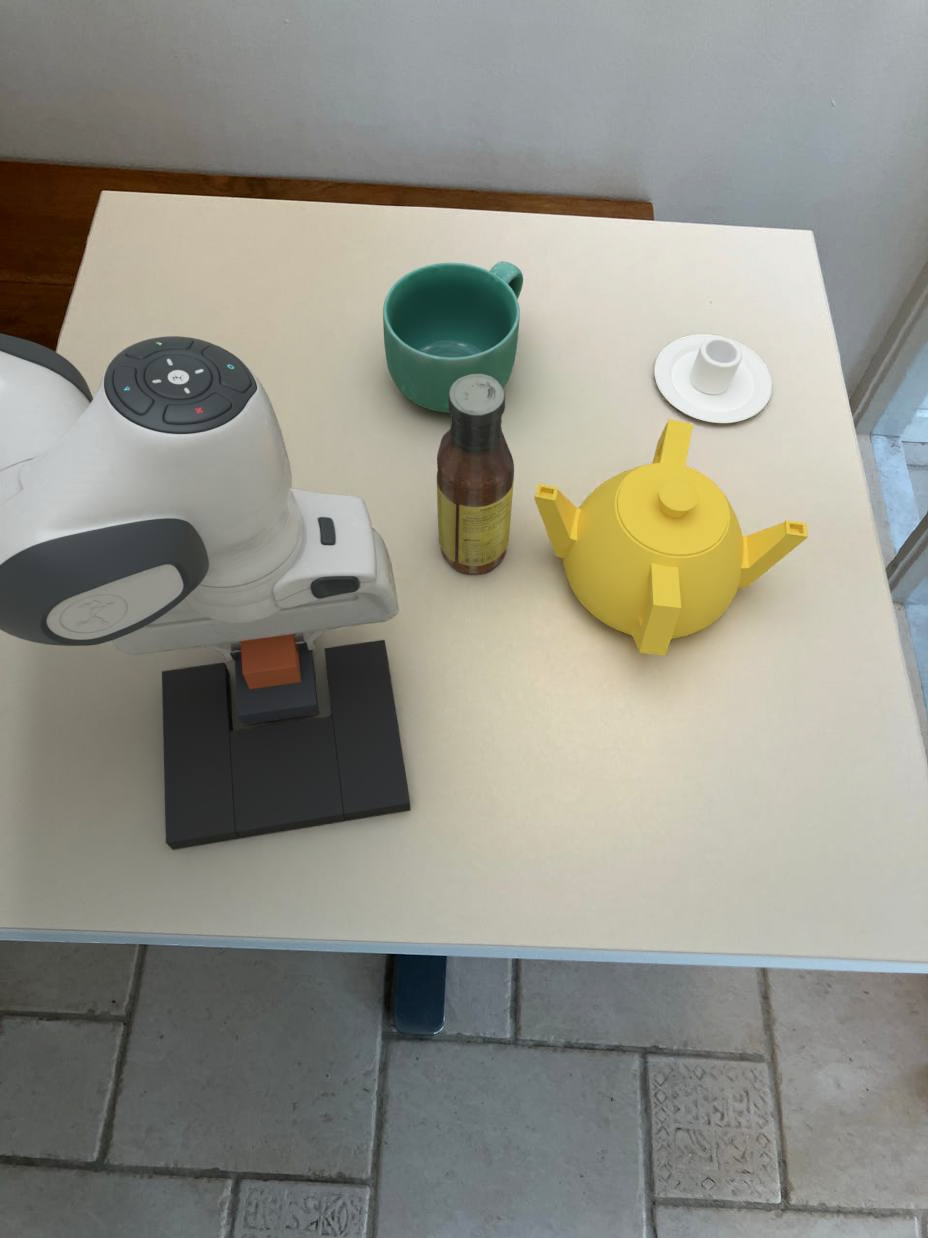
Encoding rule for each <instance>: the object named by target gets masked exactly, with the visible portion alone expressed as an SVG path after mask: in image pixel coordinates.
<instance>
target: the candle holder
mask: <svg viewBox="0 0 928 1238" xmlns="http://www.w3.org/2000/svg"><path fill="white" fill-rule="evenodd" d="M653 372H654V374H653V375H654V380H655V383H656V385H657V388H658V390H659V391H660V393H661V394H662V396H663V398H665V400H666V401H667V402H669V404H671V406H673V407H674V408H675V409H677V410H679V411H680V412H681V413H683V414H685V415H687V416H688V417H691V418H694V419H697V420H700V421H703V422H708V423H714V424H715V423H716V424H731V423H732V424H733V423H739V422H741V421H745V420H747V419H750V418H752V417H754V416H756V415H757V414H758V413H760V412H761V411H762V410H763V409H764V408H765V407H766V406H767V404H768V402H769V401H770V398H771V396H772V391H773V380H772V375H771V372H770V369H769V366H768V365H767V364H766V362H764V360H763V359H762V357H760V356H759V354H758V353H757V352H756V351H754V350H753V349H751V348H750V347H748V346H746V345H745V344H743V343H741V342H739V341H737V340H734V339H732V338H729V337H726V336H723V335H718V334H711V333H710V334H709V333H696V334H690V335H686V336H682V337H679V338H677V339H675V340H673V341H671V342H670V343H668V344H667V345H666V346H665V347H663V348H662V350H661V351H660V352H659V354H658V355H657V357H656V360H655V362H654V370H653Z"/></svg>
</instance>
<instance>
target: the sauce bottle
mask: <svg viewBox="0 0 928 1238" xmlns="http://www.w3.org/2000/svg"><path fill="white" fill-rule="evenodd" d="M448 405H449V410H450V414H451V415H450V416H451V419H450V420H451V422H450V429H448V430H447V431H446V432H445V433H444V434H443V436H442V438H441V439H440V444H439V447H438V450H437V455H436V465H437V466H436V467H437V470H436V504H437V529H438V543H439V546H440V551H441V555H442V556H443V558H444V560H445V561H446V562H447V563H448V564H449V565H450V566H451V567H453V568H454V569H455V570H456V571H458V572H461V573H464V574H471V575H472V574H483V573H487V572H490V571H491V570H494V569H495V568H496V567H497V566H498V565H499V564H500V563H501V562H502V560H504V558H505V555H506V553H507V547H508V545H509V542H510V531H511V518H512V506H513V493H514V482H515V481H514V480H515V463H514V458H513V455H512V452H511V451H510V448H509V446H508V442H507V441H506V438H505V435H504V432H503V429H502V422H503V421H502V417H503V414H504V413H505V409H506V393H505V390H504V387H503V388H502V386H501V385H500V383H499V382H498V381H497V380H495V379H494V378H493V377H491V376H488V375H484V374H470V375H467V376H463V377H461V378H459V379H458V380H456V381H455V382H454V383H453V384H452V386H451V388H450V391H449V399H448Z"/></svg>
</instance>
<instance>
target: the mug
mask: <svg viewBox="0 0 928 1238" xmlns="http://www.w3.org/2000/svg"><path fill="white" fill-rule="evenodd" d="M523 284H524V275H523V271H522V270H520V268H519V267H518V266H516V265H515V264H513V263H511V262H509V261H504V260H503V261H498V262H496V263H494V265H493V266H492V267H491V269H489V270H487V269H486V268H483V267H481V266H477V265H473V264H469V263H462V262H439V263H433V264H428V265H425V266H421V267H419V268H416V269H414V270H411V271H409V272H407V273H406V274H405V275H403V276H402V277H401V278H398V280H397V281H396V282H395V283H394V284H393V285H392V286H391V287H390V289H389V290H388V292H387V294H386V296H385V299H384V302H383V308H382V323H383V342H384V352H385V359H386V365H387V369H388V371H389V372H388V373H389V374H390V375H389V376H390V377H391V379H392V381H393V383H394V384H395V386H396V387H397V389H398V390H399V391H400V392H401V393H402V394H403V395H404V396H405V397H406V398H407V399H408V400H410V401H411V402H413V403H414V404H416V405H418V406H420V407H422V408H425V409H427V410H431V411H435V412H439V413H450V410H449V405H448V399H449V391H450V388H451V386H452V384H453V383H454V382H455V381H456V380H458V379H459V378H461V377H463V376H467V375H470V374H484V375H488V376H491V377H493V378H494V379H495V380H497V381H498V382H499V383H500V385H501V386H502V388H503V389H504V387H505V386H506V385H507V383H508V381H509V379H510V377H511V375H512V372H513V369H514V366H515V365H514V364H515V360H516V355H517V349H518V340H519V330H520V320H521V319H520V318H521V316H520V315H521V310H520V303H519V297H520V294H521V292H522V289H523ZM450 414H451V413H450Z"/></svg>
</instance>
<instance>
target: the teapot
mask: <svg viewBox="0 0 928 1238" xmlns="http://www.w3.org/2000/svg"><path fill="white" fill-rule="evenodd" d="M693 427H694V424H693V423H690V422H685V421H680V420H676V419H672V418H668V420H667V422H666V424H665V426H664V428H663V430H662V431H661V433H660V434H661V435H660V436H659V438H658V440H657V442H656V443H657V444H656V448H655V450H654V451H655V452H654V455H653V459H652V463H647V464H643V465H639V466H637V467H633V468H630V469H628V470H625V471H622V472H620V473H618V474H616V475H614V476H612V477H610V478H608V479H607V480H606V481H604V482H602V483H601V484H600V485H599V486H597V487H596V488H595V489H594V490H593V491H592V492H590V493H589V495H587V497H586V498H585V499H584V501H583V502H582V503H581V504H580V505H579V507H577V506H576V505H575V504H574V503H572V501H571V500H570V499H569V498H568V497H566V495H564V494H563V492H561V490H559V487H557V486H552V485H547V484H542V483H537V485H536V489H535V493H534V502H535V504H536V508H537V509H538V512H539V515H540V517H541V520H542V523H543V525H544V529H545V530H546V533H547V537H548V539H549V541H550V545H551V547H552V549H553V552H554V555H555V557H558V558H560V559H562V564H563V569H564V573H565V577H566V579H567V581H568V584H569V586H570V588H571V590H572V592H573V593H574V595H575V597H576V598H577V600H578V601H579V602H580V603H581V605H582V606H583V607H584V608H585V609H586V610H587V611H588V612H589V613H590V614H591V615H593V616H594V617H595V618H596V619H597V620H599V621H600V622H602V623H603V624H605V625H606V626H608V627H610V628H612V629H613V630H616V631H618V632H621V633H624V634H625V635H629V636H632V638H633V640H634V643H635V646H636V648H637V650H638V653H639V654H647V655H648V654H649V655H655V656H656V655H657V656H667V653H668V650H669V646H670V643H671V640H673V639H679V638H684V637H687V636H690V635H693V634H695V633H698V632H700V631H703V630H704V629H706V628H708V627H709V626H711V625H713V624H714V623H715V622H716V621H718V620H719V619H720V618H721V617H722V616H723V615H724V614H725V613H726V611H727V610H728V608H729V607H730V605H731V604H732V602H733V600H734V599H735V596H736V595H737V592H738V590H739V589H747V588H748V587H749V586H750V585H752V584H754V582H756V581H757V580H758V579H759V578H761V577H762V576H763V575H764V574H765V573H767V572H768V571H769V570H770V569H771V568H773V567H774V566H775V565H776V564H777V563H780V561H781V560H783V558H785V557H786V556H788V555H789V554H790V553H791V552H792V551H793V550H794V549H796V548H797V547H798V546H799V545H800V544H802V543H803V542H804V541H805V540H807V538H808V536H809V535H808V525H807V522H803V521H794V520H788V519H785V520H784V521H783V522H780V523H778V524H776V525H773V526H770V527H767V528H765V529H762V530H759V531H756V532H754V533H750V534H748V535H743V534H742V529H741V526H740V523H739V520H738V517H737V515H736V513H735V510H734V508H733V506H732V505H731V503H730V501H729V499H728V497H727V495H725V493H724V491H722V490H721V488H720V487H719V486H718V485H717V484H716V483H715V482H714V481H713V480H712V479H711V478H710V477H708V476H707V475H705V474H704V473H702V472H700V471H699V470H696V469H694V468H692V467H690V466H687V461H688V456H689V455H688V454H689V449H690V443H691V438H692V433H693Z"/></svg>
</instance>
